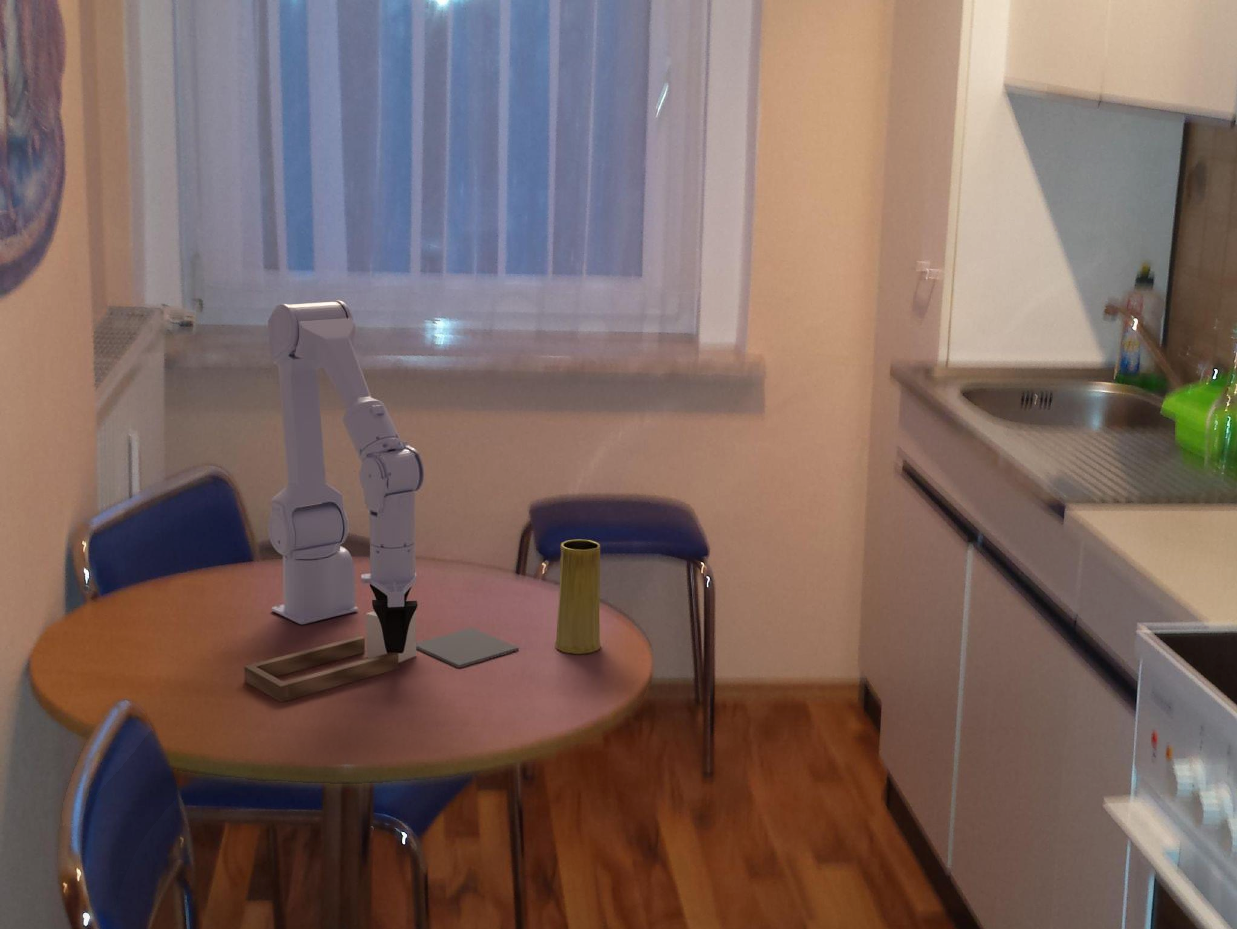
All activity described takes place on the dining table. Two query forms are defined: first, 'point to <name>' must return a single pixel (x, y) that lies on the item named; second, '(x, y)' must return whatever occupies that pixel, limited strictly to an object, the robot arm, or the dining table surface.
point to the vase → (579, 597)
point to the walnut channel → (282, 691)
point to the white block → (377, 641)
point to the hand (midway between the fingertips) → (393, 642)
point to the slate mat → (465, 647)
